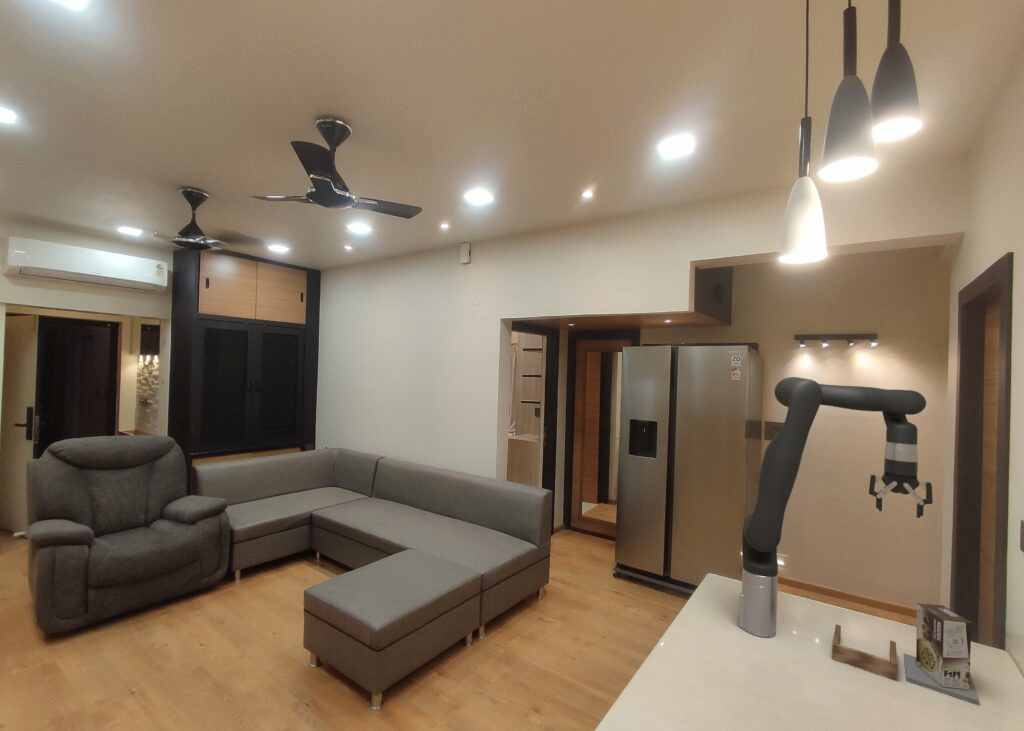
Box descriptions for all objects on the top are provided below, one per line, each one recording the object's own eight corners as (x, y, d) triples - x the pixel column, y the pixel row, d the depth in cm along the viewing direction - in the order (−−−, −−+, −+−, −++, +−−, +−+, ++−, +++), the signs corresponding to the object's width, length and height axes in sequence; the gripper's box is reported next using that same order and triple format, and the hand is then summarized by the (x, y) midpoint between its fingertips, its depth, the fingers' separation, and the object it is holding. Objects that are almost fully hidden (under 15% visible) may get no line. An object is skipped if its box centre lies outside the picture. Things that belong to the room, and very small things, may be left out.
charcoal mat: (906, 680, 117) (906, 676, 117) (903, 657, 127) (903, 653, 127) (979, 705, 109) (979, 700, 109) (970, 677, 119) (970, 673, 119)
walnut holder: (831, 659, 125) (832, 644, 125) (835, 638, 136) (835, 624, 136) (897, 681, 117) (897, 665, 117) (895, 656, 127) (895, 642, 127)
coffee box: (971, 690, 113) (973, 623, 113) (941, 687, 114) (943, 620, 114) (941, 667, 122) (943, 604, 122) (914, 664, 123) (916, 602, 123)
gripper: (870, 456, 139) (868, 511, 138) (934, 463, 130) (932, 522, 130) (870, 453, 145) (868, 506, 144) (932, 460, 136) (930, 516, 136)
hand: (898, 513), depth 137 cm, fingers open, 8 cm apart
